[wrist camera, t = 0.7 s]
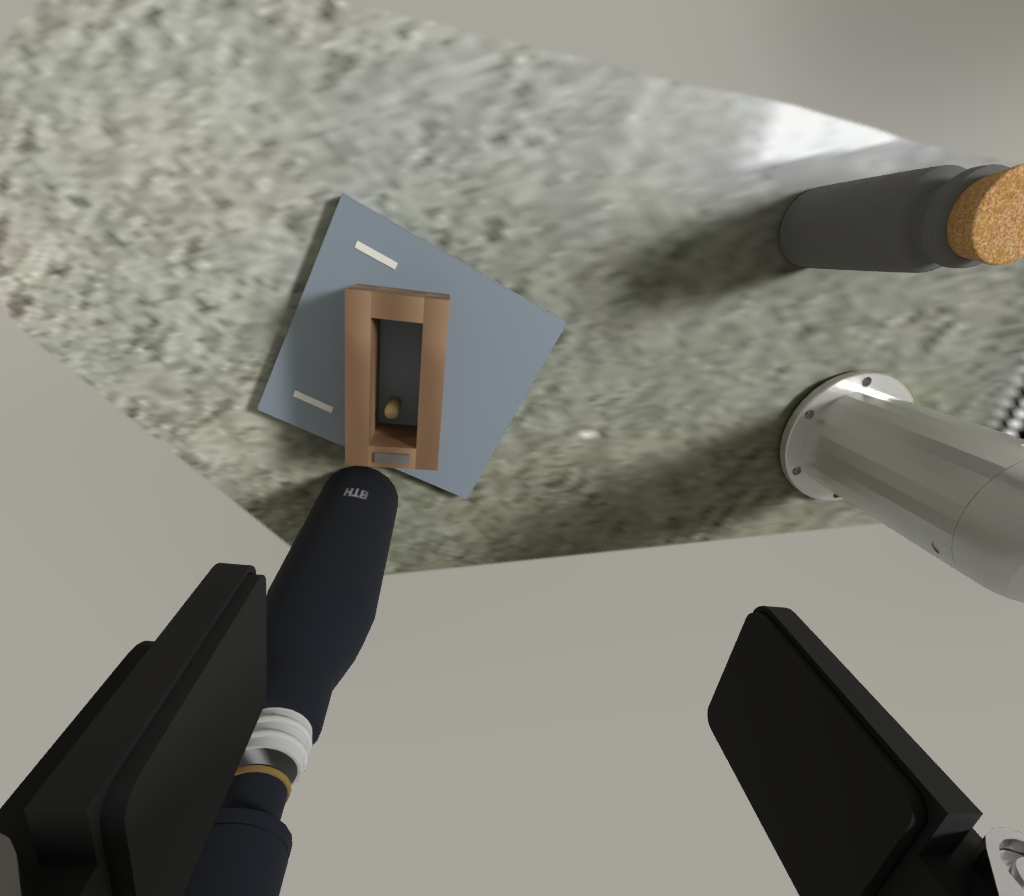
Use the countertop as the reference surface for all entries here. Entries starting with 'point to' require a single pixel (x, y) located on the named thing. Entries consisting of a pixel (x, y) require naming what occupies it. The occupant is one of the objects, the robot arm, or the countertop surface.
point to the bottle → (910, 221)
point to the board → (411, 345)
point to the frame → (362, 365)
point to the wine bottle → (300, 675)
